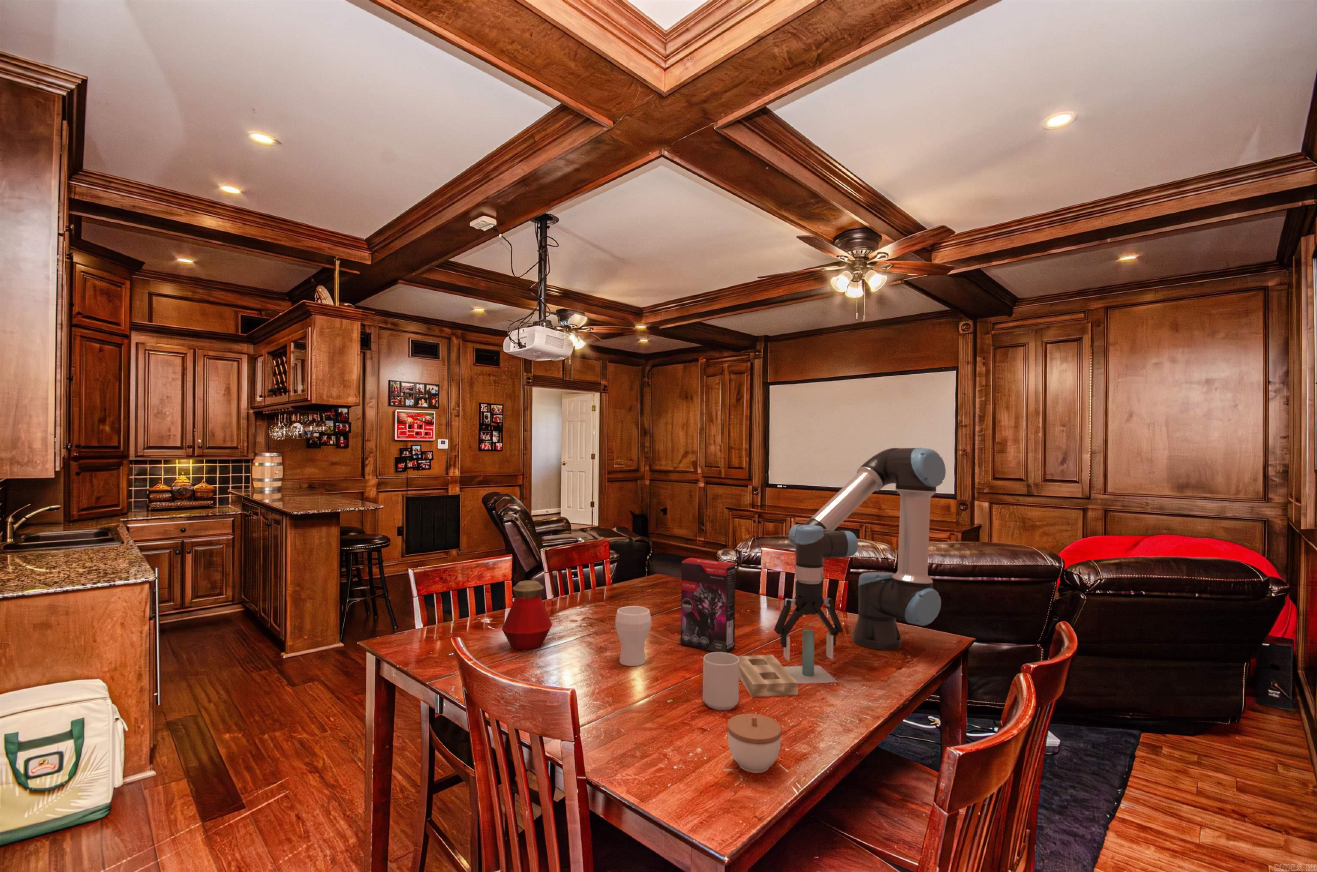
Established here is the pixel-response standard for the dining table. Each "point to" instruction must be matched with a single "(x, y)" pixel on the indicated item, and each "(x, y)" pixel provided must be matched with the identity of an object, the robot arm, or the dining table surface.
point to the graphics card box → (708, 605)
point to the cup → (632, 633)
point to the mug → (721, 680)
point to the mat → (818, 677)
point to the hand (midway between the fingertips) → (808, 658)
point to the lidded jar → (754, 741)
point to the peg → (808, 653)
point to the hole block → (766, 676)
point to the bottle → (527, 617)
